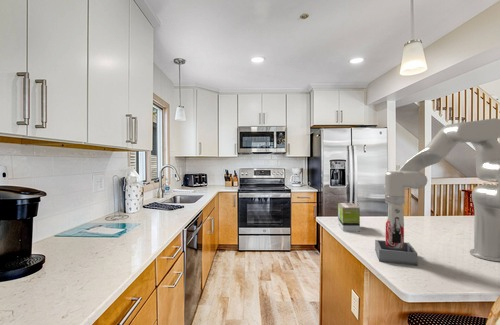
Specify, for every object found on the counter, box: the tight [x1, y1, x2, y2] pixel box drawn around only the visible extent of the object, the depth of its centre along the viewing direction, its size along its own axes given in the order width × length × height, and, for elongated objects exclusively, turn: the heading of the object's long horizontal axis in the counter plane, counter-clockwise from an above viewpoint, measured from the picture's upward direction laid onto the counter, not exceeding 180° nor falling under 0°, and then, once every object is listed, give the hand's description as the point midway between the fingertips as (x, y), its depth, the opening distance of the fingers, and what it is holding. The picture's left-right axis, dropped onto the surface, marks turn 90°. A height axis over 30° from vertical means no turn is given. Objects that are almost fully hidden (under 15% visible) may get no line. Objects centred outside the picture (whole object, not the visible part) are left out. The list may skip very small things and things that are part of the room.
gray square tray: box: [374, 239, 418, 267], centre depth 114 cm, size 14×14×5 cm
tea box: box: [337, 202, 361, 233], centre depth 161 cm, size 15×10×15 cm, turn 172°
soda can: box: [385, 218, 405, 249], centre depth 114 cm, size 7×7×12 cm
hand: (394, 239), depth 114 cm, fingers closed on soda can, 7 cm apart
